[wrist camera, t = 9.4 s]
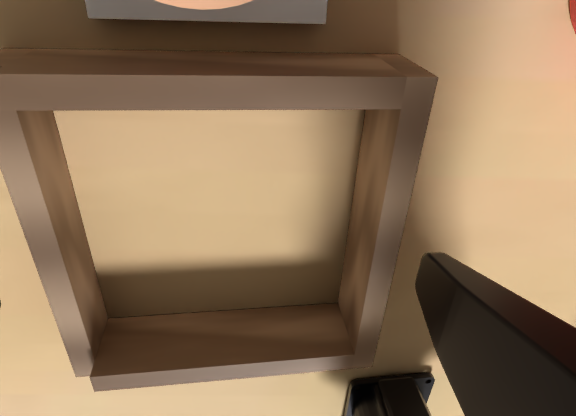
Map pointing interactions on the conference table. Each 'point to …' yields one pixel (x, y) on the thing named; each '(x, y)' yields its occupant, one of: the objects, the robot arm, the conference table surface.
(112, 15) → the grey tile
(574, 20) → the flower pot
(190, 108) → the wooden square frame
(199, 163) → the conference table surface
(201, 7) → the peach round piece
